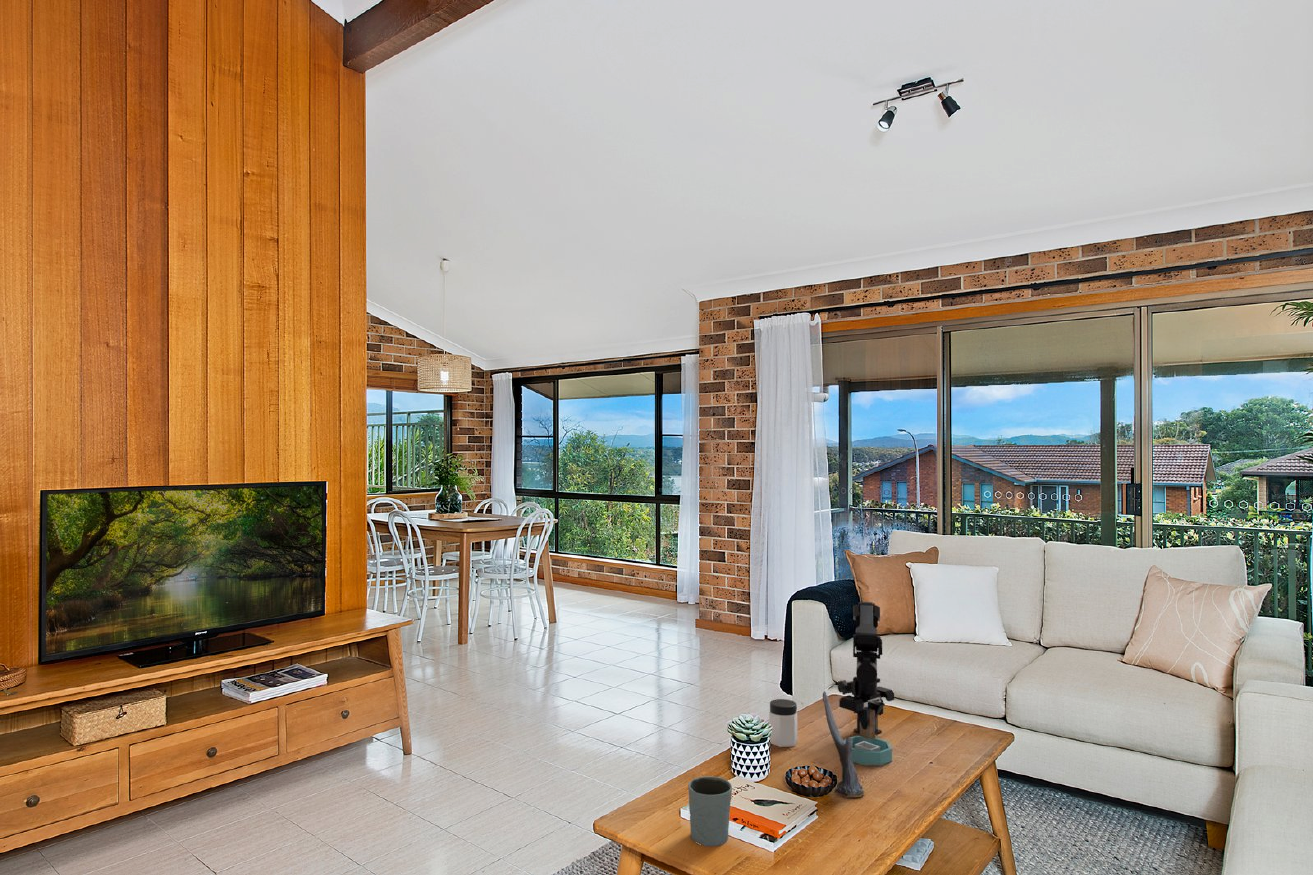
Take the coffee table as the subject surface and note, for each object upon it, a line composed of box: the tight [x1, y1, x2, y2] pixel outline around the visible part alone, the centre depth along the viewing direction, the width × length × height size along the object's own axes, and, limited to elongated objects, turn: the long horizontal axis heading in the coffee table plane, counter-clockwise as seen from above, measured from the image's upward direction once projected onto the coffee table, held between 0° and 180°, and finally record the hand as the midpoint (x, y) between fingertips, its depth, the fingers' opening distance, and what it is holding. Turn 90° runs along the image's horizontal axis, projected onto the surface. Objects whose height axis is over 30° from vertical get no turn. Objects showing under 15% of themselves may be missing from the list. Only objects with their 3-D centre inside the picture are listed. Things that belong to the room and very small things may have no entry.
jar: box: [768, 698, 798, 748], centre depth 241 cm, size 9×8×12 cm
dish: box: [843, 735, 893, 767], centre depth 229 cm, size 13×13×4 cm
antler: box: [822, 691, 866, 799], centre depth 206 cm, size 12×8×25 cm
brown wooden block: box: [859, 709, 876, 740], centre depth 229 cm, size 2×4×8 cm, turn 37°
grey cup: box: [687, 775, 733, 847], centre depth 180 cm, size 10×10×12 cm
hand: (867, 728), depth 229 cm, fingers closed on brown wooden block, 2 cm apart
